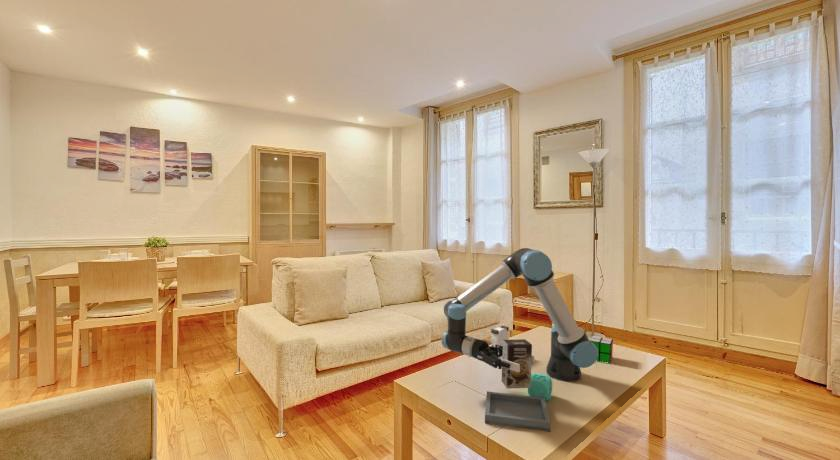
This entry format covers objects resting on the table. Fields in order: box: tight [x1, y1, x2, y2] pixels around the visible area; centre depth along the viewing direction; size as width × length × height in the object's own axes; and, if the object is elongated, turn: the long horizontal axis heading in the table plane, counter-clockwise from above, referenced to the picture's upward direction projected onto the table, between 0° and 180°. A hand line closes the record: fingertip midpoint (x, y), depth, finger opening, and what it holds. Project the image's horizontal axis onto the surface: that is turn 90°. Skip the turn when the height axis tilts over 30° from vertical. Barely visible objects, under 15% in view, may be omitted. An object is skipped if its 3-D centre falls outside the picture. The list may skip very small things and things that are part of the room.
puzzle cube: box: [589, 335, 614, 364], centre depth 193 cm, size 10×10×10 cm
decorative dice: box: [527, 372, 553, 402], centre depth 151 cm, size 8×8×8 cm
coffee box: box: [501, 338, 533, 389], centre depth 137 cm, size 9×6×16 cm
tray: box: [484, 391, 551, 432], centre depth 138 cm, size 22×18×3 cm
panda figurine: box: [490, 325, 510, 360], centre depth 194 cm, size 12×11×15 cm
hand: (526, 363), depth 135 cm, fingers closed on coffee box, 10 cm apart
